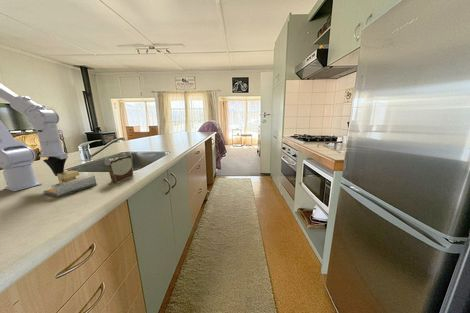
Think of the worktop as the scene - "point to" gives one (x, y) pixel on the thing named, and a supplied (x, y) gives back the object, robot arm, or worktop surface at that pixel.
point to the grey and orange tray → (71, 186)
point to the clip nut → (67, 176)
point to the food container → (119, 167)
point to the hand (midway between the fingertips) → (59, 175)
